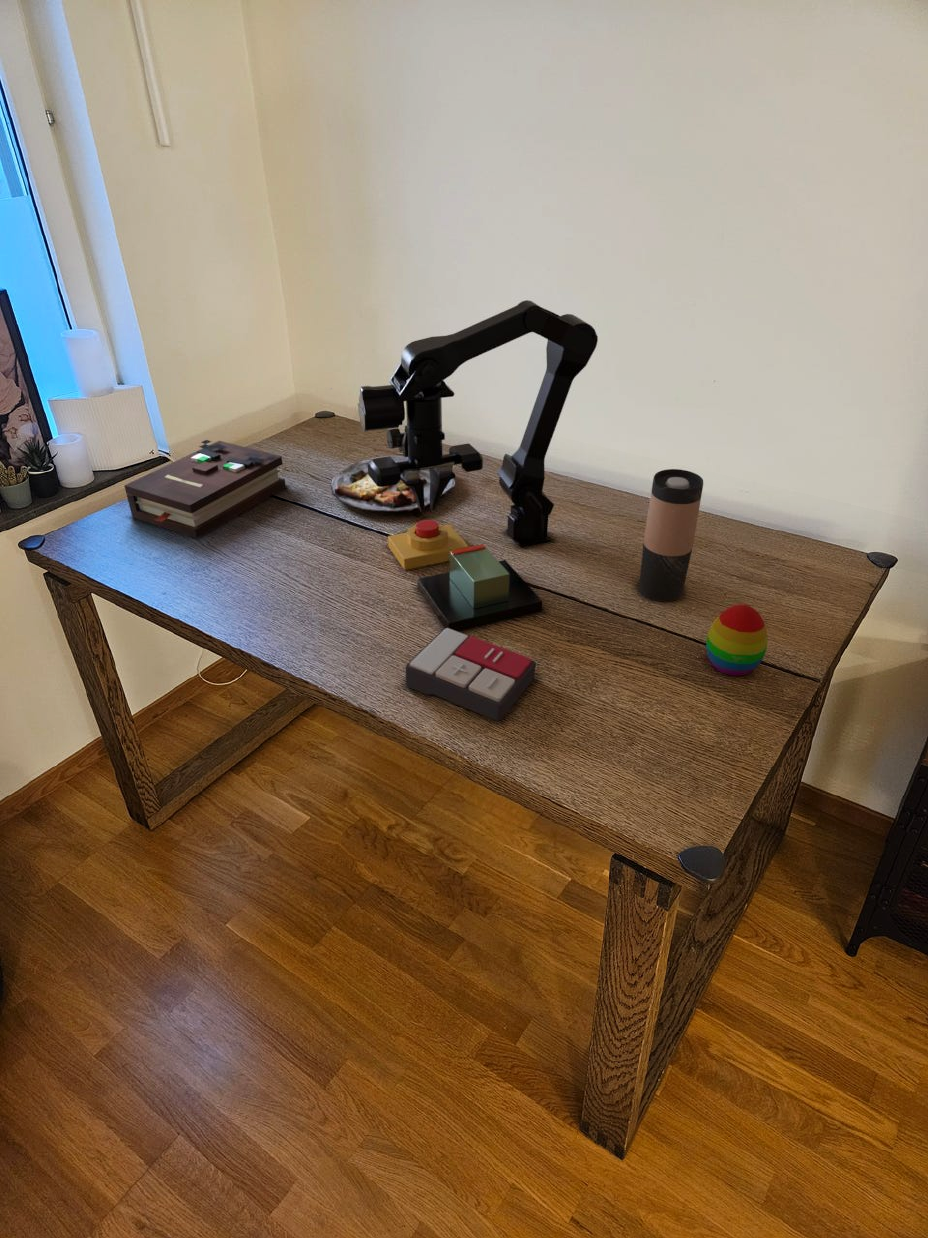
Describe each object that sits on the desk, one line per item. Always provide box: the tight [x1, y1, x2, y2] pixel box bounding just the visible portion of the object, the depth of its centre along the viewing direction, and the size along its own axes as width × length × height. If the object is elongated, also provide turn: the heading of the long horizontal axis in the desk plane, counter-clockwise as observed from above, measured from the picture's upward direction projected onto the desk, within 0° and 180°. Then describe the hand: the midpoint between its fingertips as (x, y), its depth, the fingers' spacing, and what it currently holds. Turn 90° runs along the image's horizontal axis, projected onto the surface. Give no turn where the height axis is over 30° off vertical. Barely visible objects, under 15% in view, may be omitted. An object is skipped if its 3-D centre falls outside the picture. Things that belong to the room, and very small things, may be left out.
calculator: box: [405, 627, 537, 722], centre depth 113 cm, size 11×4×15 cm
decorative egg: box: [705, 603, 768, 677], centre depth 114 cm, size 8×8×10 cm
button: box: [415, 519, 440, 538], centre depth 142 cm, size 4×4×2 cm
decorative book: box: [123, 439, 287, 539], centre depth 159 cm, size 19×8×30 cm
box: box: [449, 543, 509, 609], centre depth 129 cm, size 10×6×5 cm, turn 23°
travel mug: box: [638, 468, 704, 603], centre depth 128 cm, size 8×8×20 cm
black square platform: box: [416, 559, 543, 632], centre depth 131 cm, size 16×14×2 cm
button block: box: [387, 523, 470, 571], centre depth 144 cm, size 12×9×4 cm
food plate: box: [330, 455, 456, 514], centre depth 164 cm, size 25×23×4 cm
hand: (427, 510), depth 140 cm, fingers closed
